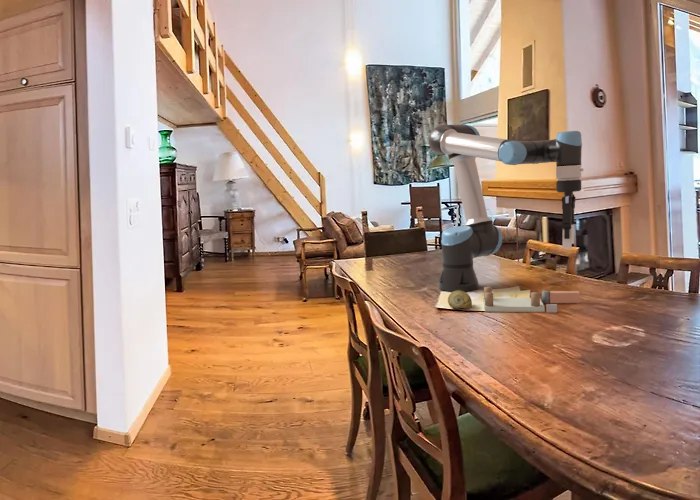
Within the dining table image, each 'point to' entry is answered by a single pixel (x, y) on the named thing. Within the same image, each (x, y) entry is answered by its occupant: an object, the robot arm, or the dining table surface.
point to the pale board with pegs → (515, 303)
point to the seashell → (459, 300)
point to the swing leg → (560, 297)
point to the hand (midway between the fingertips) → (568, 246)
